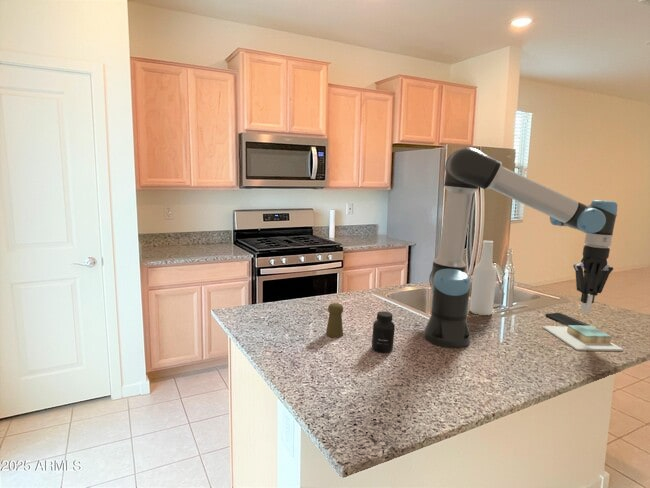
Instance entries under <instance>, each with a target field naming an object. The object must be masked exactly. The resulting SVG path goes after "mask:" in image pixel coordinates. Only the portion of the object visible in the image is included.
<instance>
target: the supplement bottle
mask: <svg viewBox="0 0 650 488" xmlns="http://www.w3.org/2000/svg"><path fill="white" fill-rule="evenodd" d="M395 329H396V325H395V322H393V313H391V312H389V311H385V310H383V311H378V312H377V313H376V320H374V321H373V324H372V335H371V337H372V338H371V349H372V350H373V351H374V352H375V353H379V354H390V353H392V352H393V350H394V342H395V339H394V338H395Z"/></svg>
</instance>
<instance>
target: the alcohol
mask: <svg viewBox="0 0 650 488" xmlns="http://www.w3.org/2000/svg"><path fill="white" fill-rule="evenodd" d="M493 249H494V241H493V240H485V239H484V240H483V241H482V248H481V254H480V259H479V262H478V263H477V264H476V265H475V266H474V268H473V273H472V274H473V275H472V285H471V292H470V293H471V294H470V295H471V296H470V304H469V309H470V310H469V311H470V312H471V313H472V314H474V315H477V314H478V315H477V316H482V315H488V316H491V314H492V313H493V310H494V301H495V294H496V293H495V291H496V283H497V274H498V272H497V268H496V266H495V265H494V263H493V261H494V259H493V255H494V253H493V252H494V251H493Z"/></svg>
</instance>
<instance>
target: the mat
mask: <svg viewBox="0 0 650 488" xmlns="http://www.w3.org/2000/svg"><path fill="white" fill-rule="evenodd" d="M542 328H543V329H544V330H545V331H547V332H548V333H550V334H551V335H553V336H555V338H557V339H559V340H560V341H562V342H563V343H565V344H566V345H568V346H569V347H571V348H572V349H574V350H575V351H586V352H587V350H588V351H589V352H590V351H595V352H597V351H598V352H599V351H601V352H603V351H604V352H607V351H608V352H611V351H612V352H623V351H624V348H622V347H621V346H618V345H617V344H615V343H613V342H611V343H585V342H583V341H582V340H580V339H578V338H577V337H575V336H573V335H572V334H570V333H569V332H567V328H568V326H567V325H565V326H559V325H556V326H555V325H554V326H553V325H551V326H550V325H543V326H542Z"/></svg>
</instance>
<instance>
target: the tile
mask: <svg viewBox="0 0 650 488" xmlns="http://www.w3.org/2000/svg"><path fill="white" fill-rule="evenodd" d="M567 332H569V333H570V334H572V335H573V336H575V337H577V338H578V339H580V340H582V341H583V342H585V343H612V336H611V335H610V334H608V333H606V332H604V331H602V330H601V329H599V328H597V327H595V326H593V325H590V326H583V325H568V328H567Z"/></svg>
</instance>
